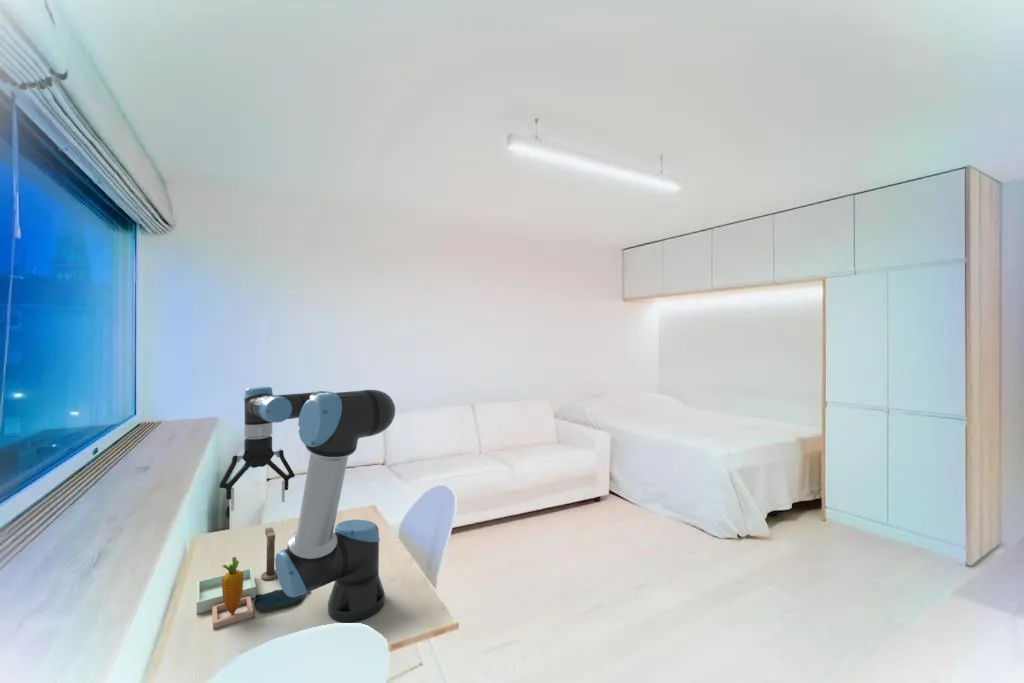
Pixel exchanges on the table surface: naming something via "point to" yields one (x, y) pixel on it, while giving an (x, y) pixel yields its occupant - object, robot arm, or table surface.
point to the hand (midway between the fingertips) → (258, 505)
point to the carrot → (232, 586)
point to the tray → (212, 590)
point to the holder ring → (232, 618)
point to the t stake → (270, 555)
